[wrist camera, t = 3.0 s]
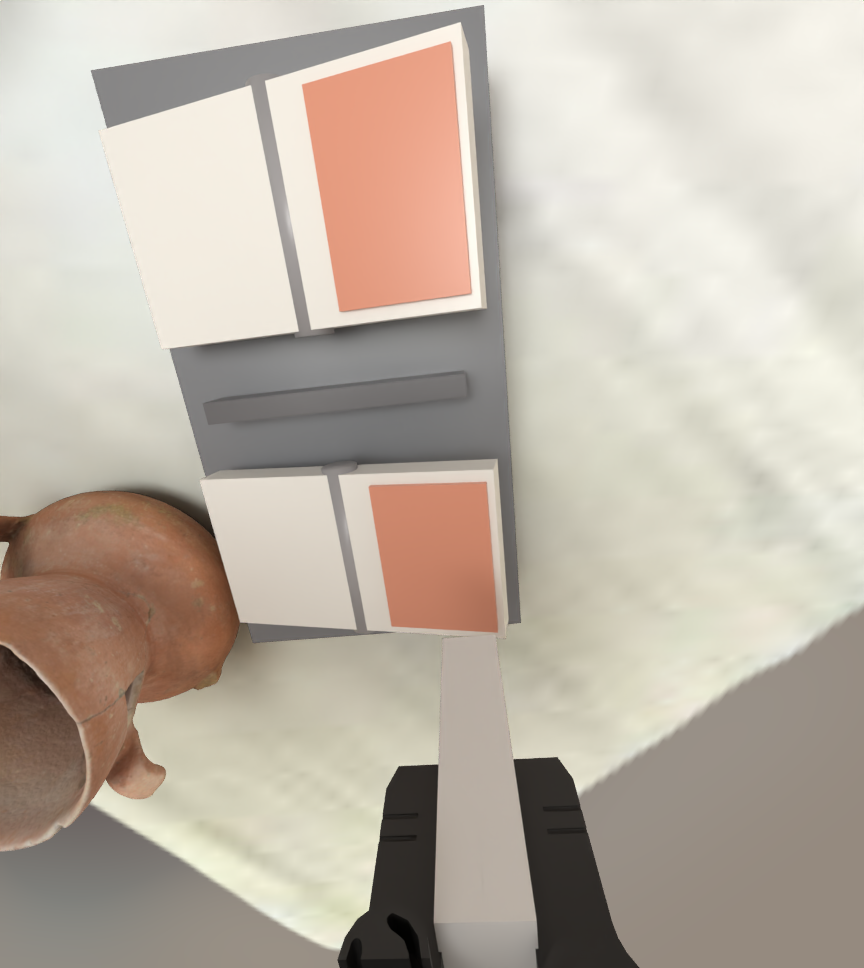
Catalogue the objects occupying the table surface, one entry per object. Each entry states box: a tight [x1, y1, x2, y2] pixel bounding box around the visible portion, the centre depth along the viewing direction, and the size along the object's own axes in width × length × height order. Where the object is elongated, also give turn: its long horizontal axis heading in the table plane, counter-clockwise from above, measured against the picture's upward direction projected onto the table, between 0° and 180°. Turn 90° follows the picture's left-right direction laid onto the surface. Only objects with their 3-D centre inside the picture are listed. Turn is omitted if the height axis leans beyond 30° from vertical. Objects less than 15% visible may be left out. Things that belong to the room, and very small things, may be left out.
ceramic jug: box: [0, 491, 240, 851], centre depth 25 cm, size 18×14×14 cm
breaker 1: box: [99, 22, 487, 349], centre depth 17 cm, size 14×8×2 cm, turn 96°
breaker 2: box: [199, 459, 509, 639], centre depth 22 cm, size 14×8×2 cm, turn 96°
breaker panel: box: [91, 5, 521, 643], centre depth 24 cm, size 16×28×7 cm, turn 6°
